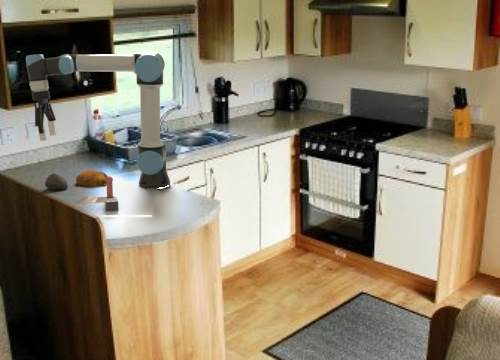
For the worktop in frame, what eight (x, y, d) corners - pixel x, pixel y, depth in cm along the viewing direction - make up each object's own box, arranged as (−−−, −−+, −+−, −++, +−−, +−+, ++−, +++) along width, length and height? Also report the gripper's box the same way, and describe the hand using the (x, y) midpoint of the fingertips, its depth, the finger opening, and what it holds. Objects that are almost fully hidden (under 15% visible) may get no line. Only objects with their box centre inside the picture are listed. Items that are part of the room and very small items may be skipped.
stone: (66, 193, 299) (53, 177, 299) (73, 183, 293) (60, 168, 294) (51, 201, 291) (38, 185, 292) (58, 191, 286) (44, 175, 286)
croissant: (93, 194, 293) (93, 178, 290) (70, 184, 300) (70, 169, 297) (115, 186, 305) (115, 171, 302) (92, 177, 312) (93, 162, 309)
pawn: (114, 198, 278) (113, 175, 275) (113, 200, 274) (112, 177, 271) (106, 198, 277) (105, 175, 274) (105, 200, 274) (104, 177, 271)
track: (115, 198, 280) (115, 196, 280) (113, 204, 272) (113, 202, 272) (80, 198, 279) (79, 196, 278) (76, 204, 271) (76, 202, 271)
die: (117, 208, 267) (116, 197, 265) (118, 212, 262) (118, 201, 261) (105, 209, 265) (104, 198, 264) (106, 213, 261) (106, 202, 259)
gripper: (41, 88, 283) (49, 134, 288) (21, 94, 259) (30, 143, 264) (57, 87, 283) (64, 132, 288) (39, 92, 259) (47, 142, 264)
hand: (48, 138), depth 276 cm, fingers open, 13 cm apart
